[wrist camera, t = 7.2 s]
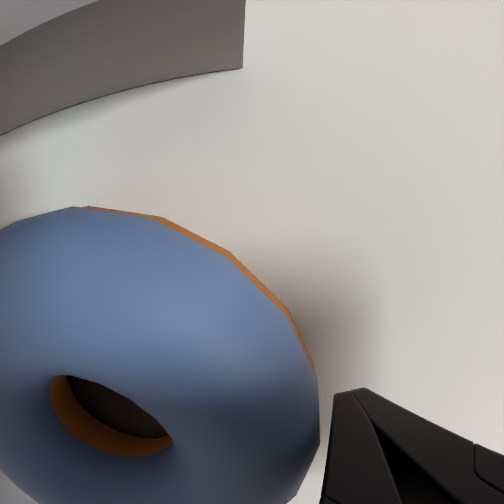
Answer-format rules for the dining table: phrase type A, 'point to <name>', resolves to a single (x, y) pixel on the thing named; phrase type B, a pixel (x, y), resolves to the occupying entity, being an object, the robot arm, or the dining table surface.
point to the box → (105, 61)
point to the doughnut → (147, 366)
